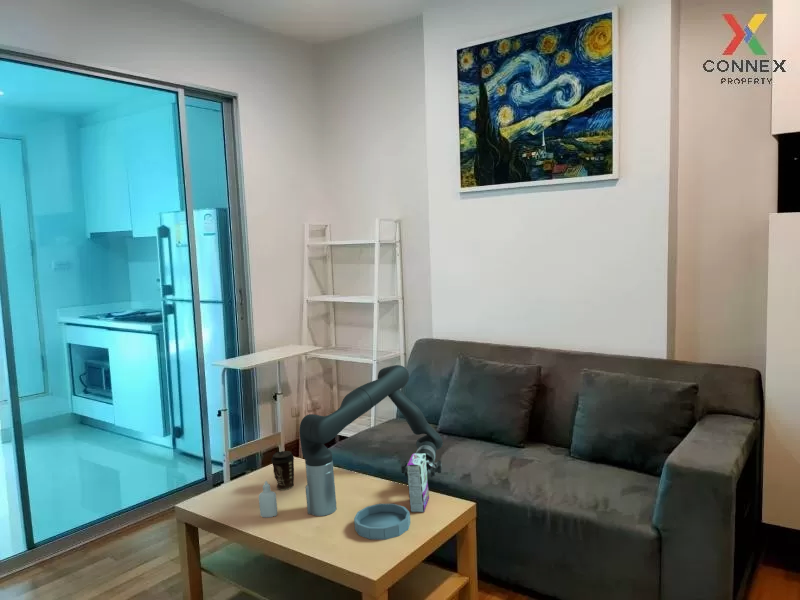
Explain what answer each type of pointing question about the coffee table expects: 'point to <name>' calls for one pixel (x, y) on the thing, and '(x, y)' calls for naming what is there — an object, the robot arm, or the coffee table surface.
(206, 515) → the coffee table surface
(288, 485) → the coffee cup
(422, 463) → the candy bar box
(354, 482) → the coffee table surface
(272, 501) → the eye dropper bottle
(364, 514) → the bowl
